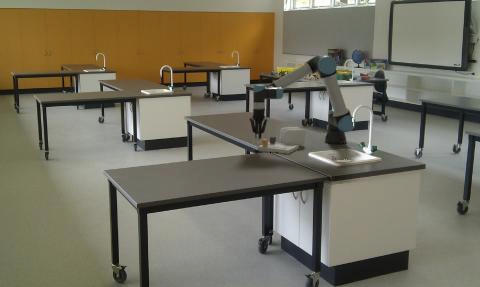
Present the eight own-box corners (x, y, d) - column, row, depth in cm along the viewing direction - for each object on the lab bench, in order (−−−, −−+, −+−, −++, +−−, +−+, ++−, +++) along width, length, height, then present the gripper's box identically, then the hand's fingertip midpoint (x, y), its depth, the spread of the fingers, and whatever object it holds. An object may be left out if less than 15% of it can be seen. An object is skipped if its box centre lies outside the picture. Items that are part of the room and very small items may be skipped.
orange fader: (268, 145, 351) (268, 139, 350) (266, 146, 348) (266, 140, 347) (264, 144, 352) (264, 139, 351) (262, 145, 350) (262, 139, 349)
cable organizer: (284, 147, 361) (284, 130, 358) (279, 143, 371) (279, 127, 368) (304, 146, 364) (305, 129, 362) (299, 142, 374) (300, 126, 372)
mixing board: (298, 149, 355) (298, 145, 354) (288, 154, 340) (288, 150, 339) (268, 145, 365) (268, 141, 364) (257, 150, 350) (257, 146, 350)
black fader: (275, 142, 360) (275, 136, 359) (273, 143, 358) (273, 137, 357) (271, 142, 362) (271, 136, 361) (269, 142, 359) (269, 137, 358)
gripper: (247, 108, 347) (246, 143, 352) (265, 109, 341) (264, 145, 346) (252, 106, 354) (252, 141, 359) (270, 108, 348) (269, 143, 353)
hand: (258, 143), depth 353 cm, fingers closed
